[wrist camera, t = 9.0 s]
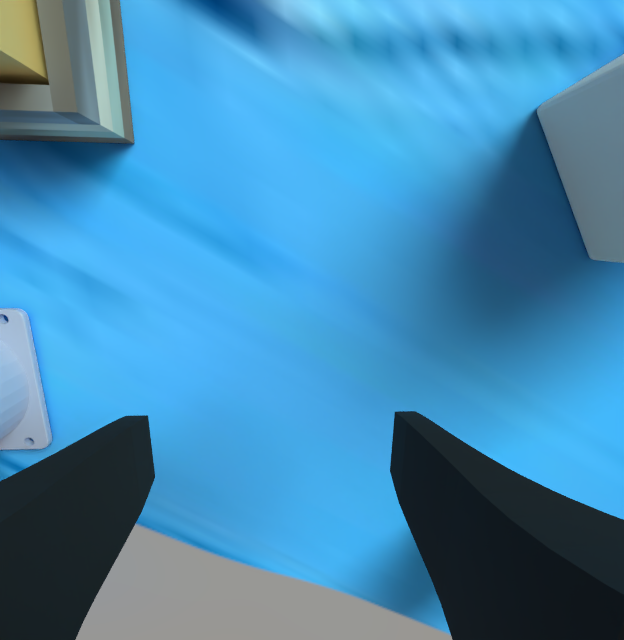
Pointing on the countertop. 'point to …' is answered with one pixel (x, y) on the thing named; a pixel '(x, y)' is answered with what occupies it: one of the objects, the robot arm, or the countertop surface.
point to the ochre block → (21, 44)
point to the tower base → (74, 79)
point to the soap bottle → (592, 155)
